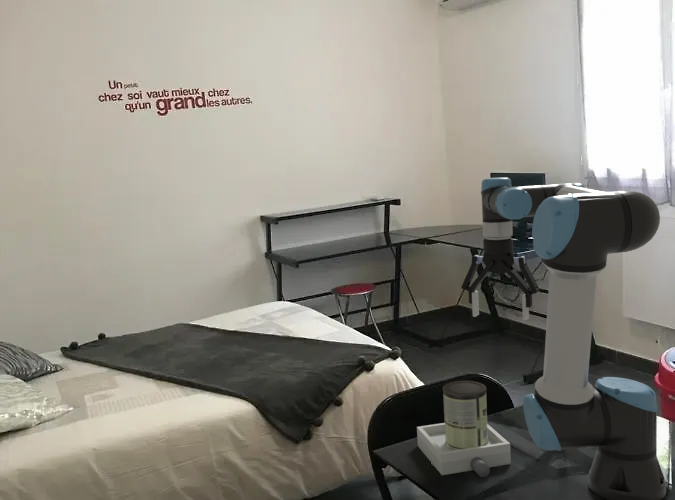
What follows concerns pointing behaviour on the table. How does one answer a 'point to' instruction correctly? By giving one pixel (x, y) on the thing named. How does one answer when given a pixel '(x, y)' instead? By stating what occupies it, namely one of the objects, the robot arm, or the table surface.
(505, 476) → the table surface
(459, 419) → the coffee can
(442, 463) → the white square tray
